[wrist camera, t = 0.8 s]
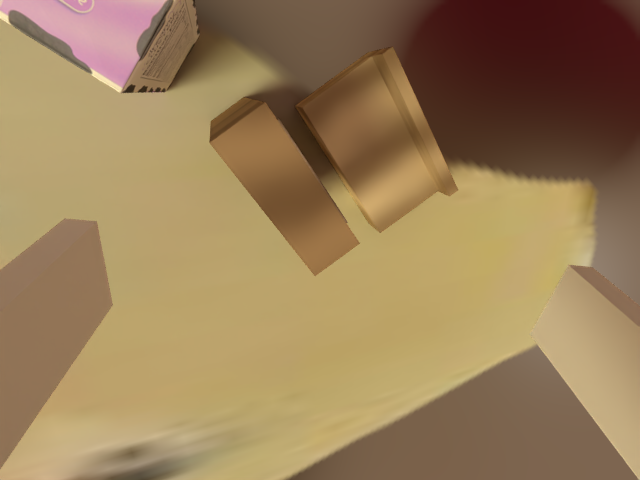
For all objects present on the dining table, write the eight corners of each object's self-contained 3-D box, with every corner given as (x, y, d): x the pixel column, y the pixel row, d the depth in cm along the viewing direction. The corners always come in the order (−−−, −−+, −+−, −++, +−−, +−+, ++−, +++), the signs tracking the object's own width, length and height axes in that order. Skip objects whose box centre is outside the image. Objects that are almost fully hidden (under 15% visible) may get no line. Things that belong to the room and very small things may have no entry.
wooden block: (210, 121, 31) (209, 142, 18) (245, 95, 31) (268, 99, 18) (278, 210, 35) (314, 276, 23) (309, 188, 35) (362, 241, 23)
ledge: (294, 105, 32) (308, 108, 28) (367, 52, 32) (392, 46, 28) (368, 222, 39) (388, 240, 34) (429, 178, 39) (458, 189, 34)
